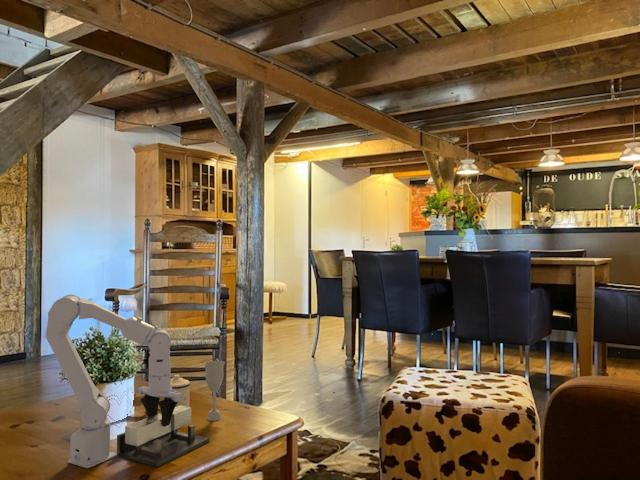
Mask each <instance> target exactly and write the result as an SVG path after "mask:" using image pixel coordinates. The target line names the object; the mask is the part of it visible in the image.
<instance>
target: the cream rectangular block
mask: <svg viewBox="0 0 640 480" xmlns="http://www.w3.org/2000/svg"><path fill="white" fill-rule="evenodd" d="M190 424H192V407H191V406H189V407H186V406H181V405H179V406H177V407H175V409H174V411H173V414H172V417H171V421H170V425H168V426H165V427H164V426H163V425H162V415H161V411H159V413H158V414H156V415H153V416H151V417H148V416H147V417H146V418H143V419H141V420H138V421H135V422H132V423H130V424H128V425H124V432H125V443H126V444H130V445H134V446H139V445H141V444H144V443H146V442H148V441H150V440H153V439H155V438H157V437H160V436H162V435H164V434H167V433H169V432H171V431H174V430H176V429H178V430H179V429H180V428H183V427H185V426H188V425H190Z"/></svg>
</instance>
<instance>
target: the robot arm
mask: <svg viewBox="0 0 640 480" xmlns="http://www.w3.org/2000/svg"><path fill="white" fill-rule="evenodd" d="M77 318H78V320H86V319H87V320H88V319H92V320H96V321H98V322H100V323H103V324H105V325H108V326H111V327H112V328H115V329H118V330H119V331H120V333H121V335H122V336H123V338H125V339H128V340H130V341H133V342H134V343H137V344H139V345H141V346H144V347H145V346H146V347H148V348H149V357H148V386H146V385H145V386H140V387H138V391H137V395H145V396H144V398H141V402H142V404H143V405H142V406H143V407H144V410H145V411H146V412H147V413H146V416H147V418H148V417H151V416H153V415H156V414H159V413H158V412H159V411H158V409H160V410H161V411H160V412H161V415H162V425H163V426H164V427H165V426H168V425H170V421H171V417H172V414H173V411H174V409H175V406H176V405H177V403H178V401H181V400H182V393H179V392H177V391H175V390H172V387H170V379H171V372H172V371H171V365H172V364H171V361H172V360H171V359H172V358H171V356H170V355H171V349H170V348H171V345H172V342H171V336H170V334H169V332H168V331H167V330H166V329H165V328H160V327H159V325H154V326H153V325H151V324H149V323H147V322H145V321H143V318H142V317H140V316H137V317H134V316H133V317H129V318H125V317H123V316H121V315H119V314H118V313H116V312H113V311H111V310H109V309H107V308H106V307H103V306H102V305H99V304H98V303H96V302H94V301H91V300H89V299H86V298H80V297H79V296H78V295H76V294H67V295H64V296H63V297H61V298H59V299H56V301H54V302H53V303H52V305H51V307H50V309H49V311H48V312H47V322H46V331H45V339H46V340H47V342H48V345H49V346H50V348H51V350H52V352H53V354H54V357H55V358H56V360H57V362H58V364H59V366H60V367H61V369H62V372H63V373H64V375H65V378H66V380H67V382H68V383H69V385H70V387H71V389H72V391H73V393H74V395H75V397H76V401H77V403H76V404H77V407H78V409H79V412H80V421H81V423H80V428H78V429H77V430H76V431H74V432H72V434H71V435H70V439H69V459H68V460H67V463H70V464H73V465H75V466H78V467H82V468H85V469H90V468H92V467H94V466H96V465H99V464H101V463H104V462H106V461H108V460H111V459H113V458H115V457H118V456H117V452H116V453H115V452H112V451H111V420H110V419H109V417H108V416H107V415H108V414H109V412H110V409H111V402H110V400H109V399H108V398H107V397H106V396H104V395H103V394H102V393H101V391H100V390H99V388H98V387H96V385H95V384H94V381H93V379H92V378H91V376H90V374H89V372H88V370H87V368H86V366H85V364H84V362H83V361H82V358H81V356H80V354H79V353H78V351H77V349H76V347H75V345H74V343H73V341H72V339H71V337H70V335H69V332H70V331H71V328H72V326H73V323H74V321H76V319H77ZM161 399H162V400H161Z"/></svg>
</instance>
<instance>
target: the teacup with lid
mask: <svg viewBox="0 0 640 480" xmlns="http://www.w3.org/2000/svg"><path fill="white" fill-rule="evenodd" d="M190 385H191V382H190V380H188V379H185V378H183V377H181V376H180V374H175V375H173V377H172V378H170V387H172V390H175V391H177V392H179V393H182V400H181V401H178V403H177V405H176V406H175V407H177V406H179V405H181V406H186V407H190Z"/></svg>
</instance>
